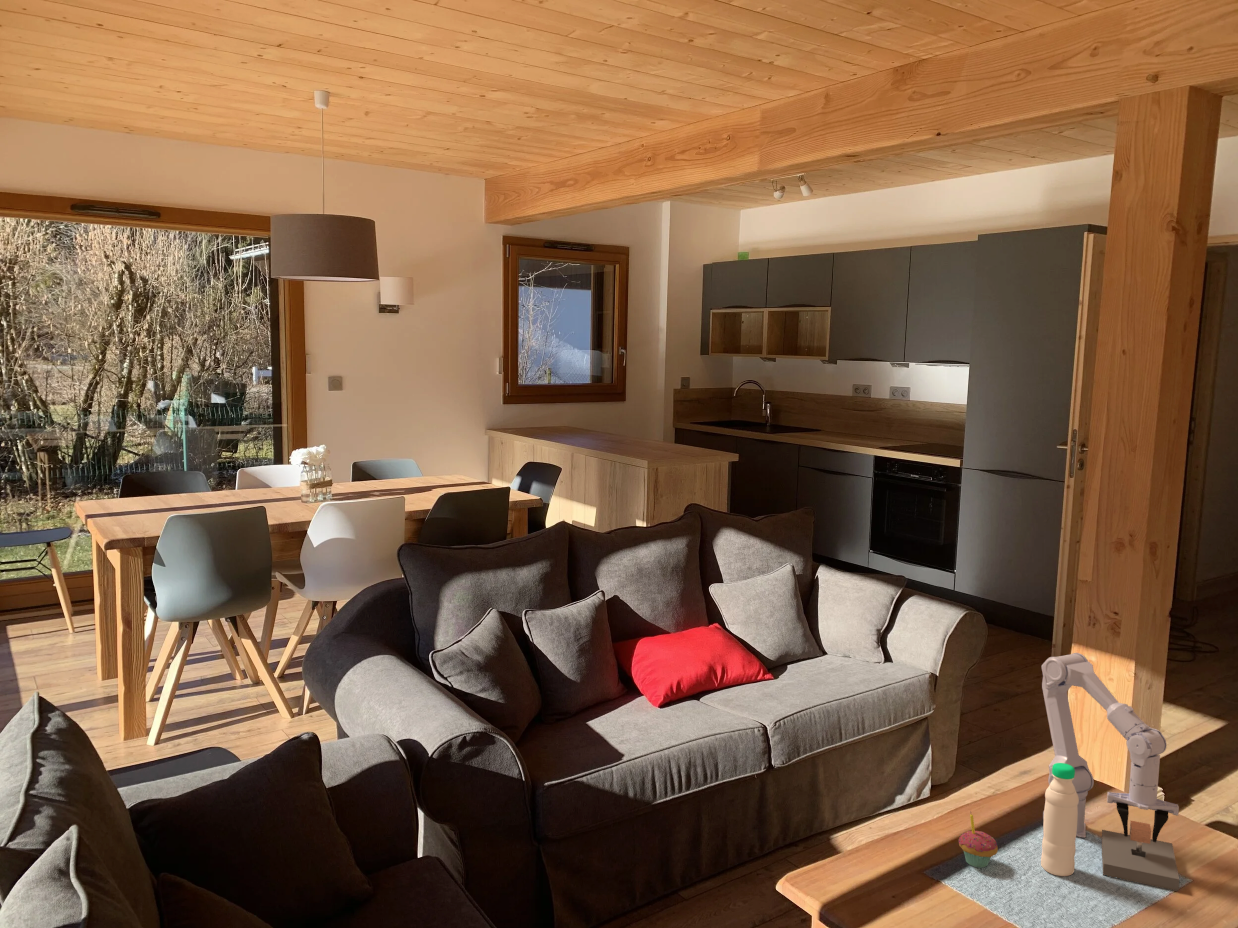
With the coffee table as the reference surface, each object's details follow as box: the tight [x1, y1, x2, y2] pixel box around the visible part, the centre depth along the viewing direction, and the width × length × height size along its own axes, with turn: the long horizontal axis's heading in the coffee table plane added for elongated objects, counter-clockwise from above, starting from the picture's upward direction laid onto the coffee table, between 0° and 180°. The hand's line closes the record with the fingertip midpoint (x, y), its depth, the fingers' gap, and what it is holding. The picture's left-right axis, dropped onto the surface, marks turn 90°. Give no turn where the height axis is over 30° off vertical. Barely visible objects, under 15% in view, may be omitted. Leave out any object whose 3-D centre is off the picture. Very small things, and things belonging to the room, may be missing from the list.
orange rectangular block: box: [1129, 820, 1152, 853], centre depth 223 cm, size 4×4×6 cm
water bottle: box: [1040, 763, 1079, 877], centre depth 220 cm, size 7×7×25 cm
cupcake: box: [958, 811, 999, 869], centre depth 224 cm, size 9×8×12 cm
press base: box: [1100, 829, 1180, 892], centre depth 224 cm, size 15×18×3 cm
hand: (1139, 837), depth 223 cm, fingers open, 5 cm apart
